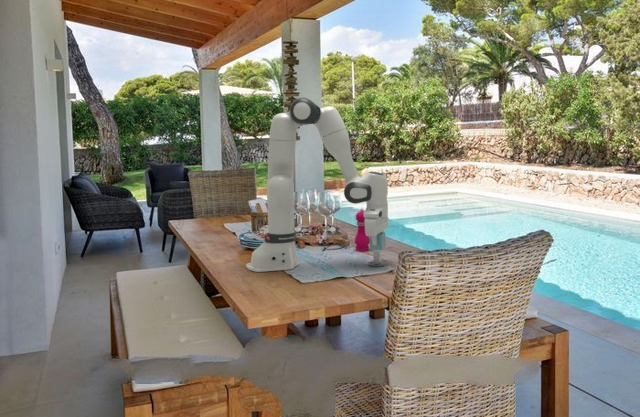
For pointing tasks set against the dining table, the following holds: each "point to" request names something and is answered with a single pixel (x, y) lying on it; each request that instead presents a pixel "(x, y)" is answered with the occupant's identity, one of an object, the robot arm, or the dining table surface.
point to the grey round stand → (377, 260)
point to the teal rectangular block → (378, 242)
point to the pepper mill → (361, 233)
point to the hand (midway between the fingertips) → (377, 243)
